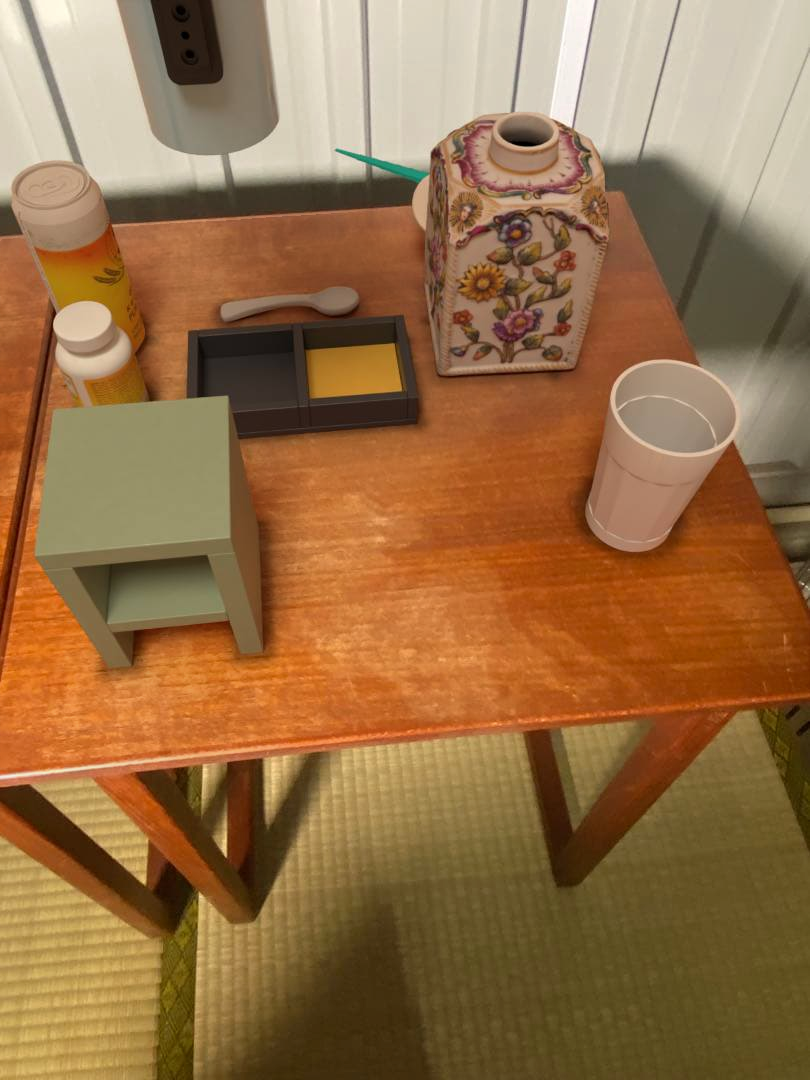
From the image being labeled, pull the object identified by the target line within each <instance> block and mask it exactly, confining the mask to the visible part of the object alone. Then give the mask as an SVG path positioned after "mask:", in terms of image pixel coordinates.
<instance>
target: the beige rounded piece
mask: <svg viewBox="0 0 810 1080" xmlns="http://www.w3.org/2000/svg"><path fill="white" fill-rule="evenodd" d="M429 177H430V174H429V175H428V176H426V177H425V178H424V179H423V180H422V181H421V182H420V183H417V186H416V188H415V189H414V192H413V195H412V200H411V205H412V206H411V210H412V214H413V218H414V220H415V222H416V223H417V225H418V227H419V228H420V229H421V230H422V231H423V232H424V233H426V220H427V206H428V192H429Z"/></svg>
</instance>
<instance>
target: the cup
mask: <svg viewBox="0 0 810 1080" xmlns="http://www.w3.org/2000/svg"><path fill="white" fill-rule="evenodd" d="M740 426H741V409H740V405H739V402H738V400H737V398H736V396H735V395H734V393H733V391H732V390H731V389H730V388H729V386H728V385H727V384H726V383H725V382H723V380H721V378H719V377H718V376H716V375H715V374H713V372H712V373H711V372H710V371H708V370H707V369H705V368H702V367H700V366H698V365H696V364H694V363H693V364H692V363H689V362H686V361H681V360H677V359H665V358H664V359H663V358H662V359H652V360H646V361H642V362H639V363H636V364H633V365H632V366H630V367H629V368H627V369H625V371H622V373H621V374H620V375H619V376H618V377H617V378H616V379H615V381H614V383H613V385H612V387H611V391H610V395H609V401H608V405H607V410H606V416H605V421H604V426H603V435H602V440H601V443H600V448H599V454H598V457H597V462H596V466H595V471H594V476H593V479H592V480H593V481H592V485H591V489H590V492H589V495H588V498H587V500H586V504H585V513H584V515H585V519H586V522H587V524H588V527H589V529H590V530H591V531H592V533H593V534H594V535H595V537H597V538H598V539H599V540H600V541H601V542H603V543H604V544H606V545H608V546H610V547H611V548H614V549H616V550H619V551H623V552H628V553H640V552H641V553H642V552H647V551H650V550H652V549H655V548H657V547H659V546H660V545H661V544H663V543H664V542H665V541H666V539H667V538H668V536H669V535H670V533H671V530H672V529H673V527H674V525H675V524H676V522H677V521H678V519H679V518H680V517H681V515H682V513H683V512H684V510H685V509H686V507H687V506H688V504H689V503H690V502H691V500H692V499H693V497H694V496H695V495H696V493H697V492H698V490H699V489H700V487H701V485H703V483H704V482H705V480H706V478H707V477H708V476H709V474H710V473H711V471H712V470H713V468H714V467H715V465H716V464H717V463H718V461H719V460H720V458H721V457H722V456H723V454H724V453H725V452H726V450H727V448H728V447H729V446H730V445H731V443H732V442H733V440H734V439H735V437H736V436H737V434H738V432H739V429H740Z"/></svg>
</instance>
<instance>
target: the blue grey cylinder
mask: <svg viewBox="0 0 810 1080" xmlns="http://www.w3.org/2000/svg"><path fill="white" fill-rule="evenodd" d="M115 1H116V4H117V5H116V6H117V8H118V13H119V16H120V19H121V23H122V27H123V31H124V35H125V39H126V42H127V46H128V50H129V54H130V58H131V61H132V66H133V69H134V73H135V77H136V80H137V84H138V87H139V91H140V95H141V99H142V102H143V107H144V110H145V114H146V119H147V121H148V125H149V129H150V131H151V133H152V135H153V136H154V137H155V139H156V140H157V141H158V142H159V143H161V144H162V145H163V146H165V147H167V148H169V149H172V150H174V151H177V152H180V153H183V154H188V155H194V156H221V155H227V154H232V153H236V152H240V151H243V150H246V149H249V148H251V147H254V146H255V145H258V144H259V143H261V142H262V141H264V140H265V139H267V138H268V137H269V136H270V135H271V134H272V133H273V132H274V130H275V129H276V128H277V126H278V124H279V122H280V118H281V109H280V107H281V106H280V101H279V100H280V99H279V92H278V84H277V75H276V68H275V60H274V53H273V44H272V37H271V36H272V35H271V28H270V21H269V13H268V12H269V11H268V5H267V0H212V1H213V7H214V12H215V18H216V24H217V29H218V35H219V41H220V46H221V52H222V58H223V77H222V79H221V80H220V81H219V82H217V83H214V84H200V85H177V84H175V83H173V82H172V81H171V80H170V78H169V77H168V74H167V70H166V65H165V61H164V57H163V53H162V48H161V44H160V40H159V36H158V31H157V27H156V23H155V19H154V14H153V10H152V6H151V2H150V0H115Z"/></svg>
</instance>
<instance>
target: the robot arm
mask: <svg viewBox="0 0 810 1080" xmlns="http://www.w3.org/2000/svg"><path fill="white" fill-rule="evenodd" d="M150 2H151V6H152V10H153V14H154V19H155V23H156V27H157V31H158V36H159V40H160V44H161V48H162V53H163V57H164V61H165V65H166V70H167V74H168V77H169V78H170V80H171V81H172V82H173V83H175V84H177V85H200V84H214V83H217V82H219V81H220V80H221V79H222V77H223V58H222V52H221V46H220V41H219V35H218V29H217V24H216V18H215V12H214V7H213V1H212V0H150Z"/></svg>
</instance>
